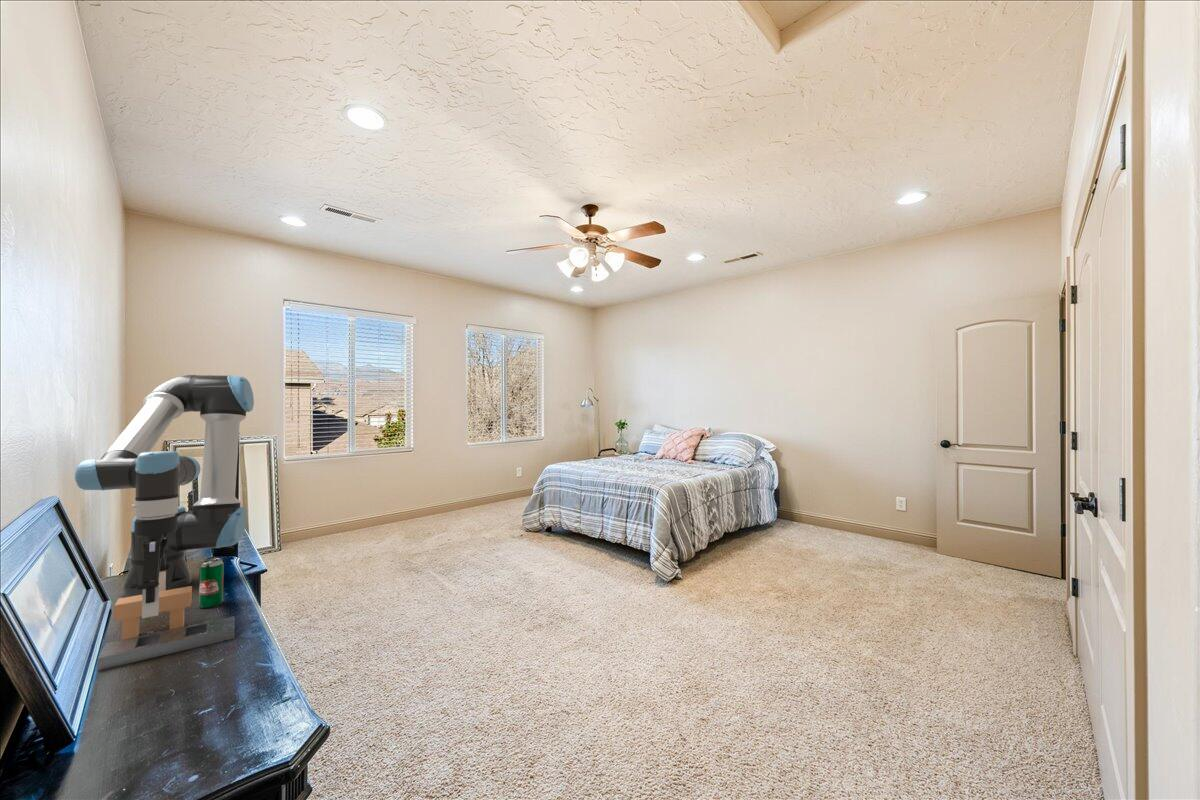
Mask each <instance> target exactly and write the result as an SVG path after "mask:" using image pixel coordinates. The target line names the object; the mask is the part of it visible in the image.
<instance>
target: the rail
mask: <svg viewBox="0 0 1200 800" xmlns="http://www.w3.org/2000/svg"><path fill="white" fill-rule="evenodd" d="M169 629H170V628H169ZM169 629H167V630H162V631H161V630H160V631H156V632H152V633H148V634H142V635H139V636H137V637H133V638H128V639H123V640H122V639H118V640H115V641H110V642H106V643H105V644H104V646H103V648H102V650H101V651H100V653H99V655H98V657H97V668H96V669H97V672H99V671H102V670H107V669H111V668H115V667H119V666H123V665H128V664H132V663H136V662H140V661H141V662H142V661H144V660H149V659H153V658H157V657H162V656H165V655H171V654H174V653H179V652H183V651H187V650H192V649H197V648H200V647H204V646H209V645H212V644H217V643H221V642H225V640H226V641H230V640H233V639H235V638H236V637H235V635H236V633H235V631H236V617H235V615H233V616H228V617H223V618H218V619H214V620H213V619H212V620H209V621H203V622H199V623H195V624H190V625H186V626H185V625H184V627H180V628H175V629H170V630H169Z"/></svg>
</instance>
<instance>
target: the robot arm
mask: <svg viewBox="0 0 1200 800" xmlns="http://www.w3.org/2000/svg"><path fill="white" fill-rule="evenodd" d="M254 404H255V399H254V393H253V389H252V385H251V383H250V382H249V380H248V379H247V378H246V377H244V376H238V375H236V376H235V375H230V374H228V375H211V374H210V375H209V374H208V375H204V374H203V375H200V374H198V375H197V374H187V375H182V376H178V377H174V378H172V379H169V380H167V381H165V382H163V383H161V384H160V385H158V386H156V387H155V388H153V389H152V390H150V391H149V392H148V393H147V395H146V396H145V397H144V398H143V400H142V407H141V409H140V410H138V413H136V415H135V416H134V417H133V418H132V420H131V421H130V422H129V423H128V425H127V426H126V427H125V428H124V429H123V430H122V432H121V433H120V434H119V436H118V437H117V438H116V440H115V441H114V442H113V443H112V444H111V445H110V447H109V448H108V449H107V450H106V452H105V453H104V454H103V455H102V456H101V458H98V459H97V458H93V459H86V460H83V461H81V462H80V463H79V464H78V466H76V469H75V473H74V480H75V483H76V485H77V487H78V488H80V489H81V490H84V491H110V490H124V489H126V490H127V489H135V497H134V500H135V503H134V504H132V505H131V506H130V507H131V509H135V510H134V511H135V512H134V517H133V519H132V523H131V530H130V534H131V536H130V545H131V546H130V568H129V570H128V573H127V575H126V577H125V579H124V581H123V584H122V586H121V596H122V597H123V598H125V597H131V596H137V595H142V616H141V619H146V618H152V617H157V616H159V615H160V614H159V613H160V612H159V592H160V591H165V590H171V589H177V588H183V587H188V586H189V585H190V584H191V583H192V574H191V570H190V568H189V566H188V563H187V561H186V559H185V551H193V550H203V549H220V548H225V547H232V546H234V545H237V543H239V542H240V540H241V538H242V537H243V534H244V532H245V529H246V525H247V522H248V520H247V519H248V511H247V508H245V507H243V506H241V503H242V501H241V500H239V499H238V498H237V497H236V487H237V486H236V485H237V473H238V471H237V469H238V455H239V437H240V424H241V422H242V421H243V420H245V419H246V418H247V413H249V412H252V411H253V410H254ZM188 412H193V413H194V412H197V413H199V417H200V418H201V419H202V420H204V422H205V425H204V426H205V428H204V429H205V430H204V438H203V439H204V441H203V442H204V443H203V454H202V456H203V457H202V469H201V465H200V462H199V461H198V460H197V459H195V458H194V457H191V456H187V455H186V456H185V455H180V454H179V452H177V451H174V450H167V451H166V450H165V451H164V450H161V451H152V450H153V449H154V447H155V446H156V444H158V441H159V440H160V439H161V437H162V436H163V434H164V433H165V432H166V430H167V429H168V427H169V426H170V425H171V423H172V422H173V420H174V419H178V418H179V417H181V416H182V415H183V414H184V413H188ZM200 473H201V478H200V492H199V493H200V495H199V499H198V500H196V502H195V503H194V504H193V505H192V510H190V511H189V510H187V509H186V507H185V506H179V500H180V499H179V498H180V497H179V487H180V486H185V485H188V484H189V483H191V482H193V481H195V480H196V479H198V477H199V475H200Z"/></svg>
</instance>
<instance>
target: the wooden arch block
mask: <svg viewBox="0 0 1200 800" xmlns="http://www.w3.org/2000/svg"><path fill="white" fill-rule="evenodd" d="M192 597H193V585H190V586H189V585H187V586H185V587H183V588H177V589H171V590H165V591H160V592H159V613H164V612H169V629H168V630H170V629H175V628H180V627H184V626H185V608H190V607H191V604H192V600H193V598H192ZM140 617H142V595H137V596H131V597H120V598H117V601H116V602H115V603H114V605H113V622H118V621H122V623H121V640H123V639H128V638H133V637H137V636H140V621H141V619H140Z"/></svg>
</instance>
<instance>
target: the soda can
mask: <svg viewBox="0 0 1200 800" xmlns="http://www.w3.org/2000/svg"><path fill="white" fill-rule="evenodd" d="M224 571H225V570H224V562H223V559H222V558H221V557H220V558H218V557H216V558H215V557H214V558H209V559H206V560H203V561H201V564H200V565H199V571H198V572H199V576H198V577H199V578H198V581H199V582H198V591H199V592H198V607H200V608H201V609H210V608H215V607H217V606H219V605H221V604H222V603H223V602H224Z"/></svg>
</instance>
